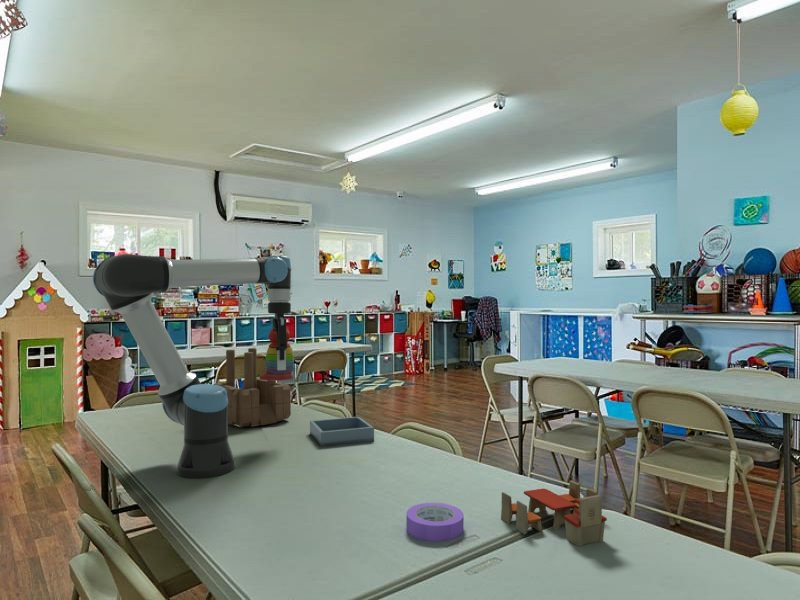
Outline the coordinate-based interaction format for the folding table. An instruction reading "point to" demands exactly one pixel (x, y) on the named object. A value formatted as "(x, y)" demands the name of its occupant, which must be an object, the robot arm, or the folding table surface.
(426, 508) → the masking tape
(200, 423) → the robot arm
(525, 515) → the dollhouse furniture set
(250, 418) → the wooden toy structure
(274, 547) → the folding table surface
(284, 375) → the stacking bear
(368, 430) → the tray
